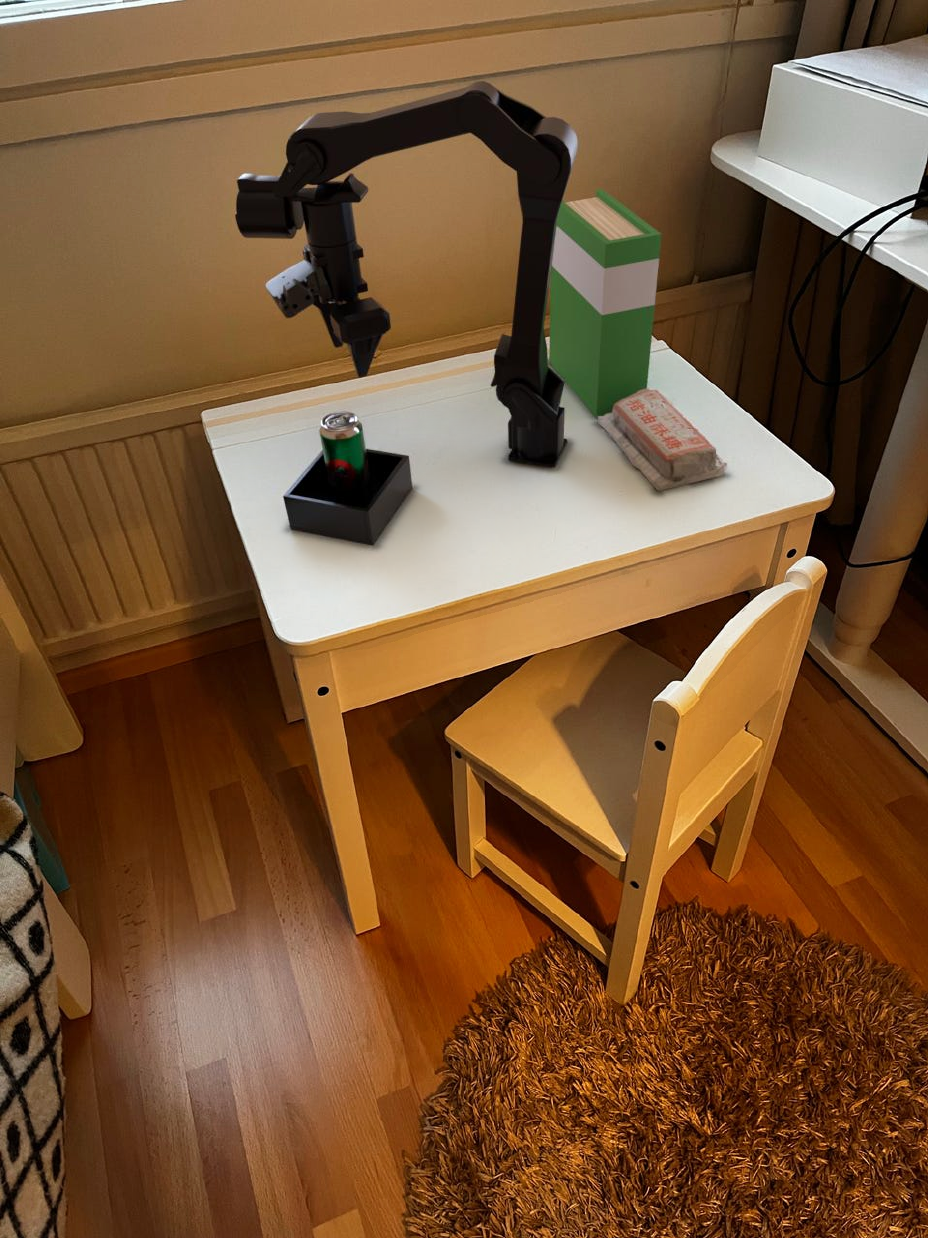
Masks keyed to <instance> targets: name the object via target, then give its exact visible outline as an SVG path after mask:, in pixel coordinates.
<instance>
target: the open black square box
mask: <svg viewBox="0 0 928 1238" xmlns="http://www.w3.org/2000/svg"><path fill="white" fill-rule="evenodd" d="M366 454H367V461H368V467H369V474H370V481H371V488H372V494H373V499H372V501H371V502H370V503H369V505H368V506H367V508H366V509H365V508H360V507H355V506H349V505H344V504H339V503H333V502H332V497H331V492H330V487H329V481H328V476H327V471H326V465H325V460H324V455H323V449H321V451H320V452H319V453H318V454H317V456H316V457H315V458H314V459H313V460H312V461H311V463H310V464H309V465H308V466H307V467H306V468H305V470H304V471H303V472H302V473H301V474H300V476H299V477H298V478H297V479H296V480H295V481H294V482H293V484H292V485H291V486H290V487H289V488H288V490H287V491H286V492H285V493H284V494H283V496H282V498H283V502H284V506H285V511H286V516H287V519H288V524H289V528H290V530H291V531H297V532H302V533H306V534H312V535H317V536H322V537H327V538H331V539H337V540H341V541H346V542H347V541H348V542H352V543H356V544H362V545H368V546H372V547H374V546H375V544H376V543H377V542H378V540H379V538H381V535H382V534H383V532H384V531H385V529H386V528H387V527H388V526H389V524H390V522H391V521H392V520H393V518H394V517H395V515H396V514H397V512H398V511H399V509H400V508H401V507H402V505H403V503H404V502H405V501H406V499H407V498H408V496H409V494H410V493H411V492H412V490H413V480H412V471H411V461H410V455H407V454H401V453H396V452H395V453H394V452H390V451H383V450H378V449H377V450H376V449H370V448H366Z"/></svg>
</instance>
